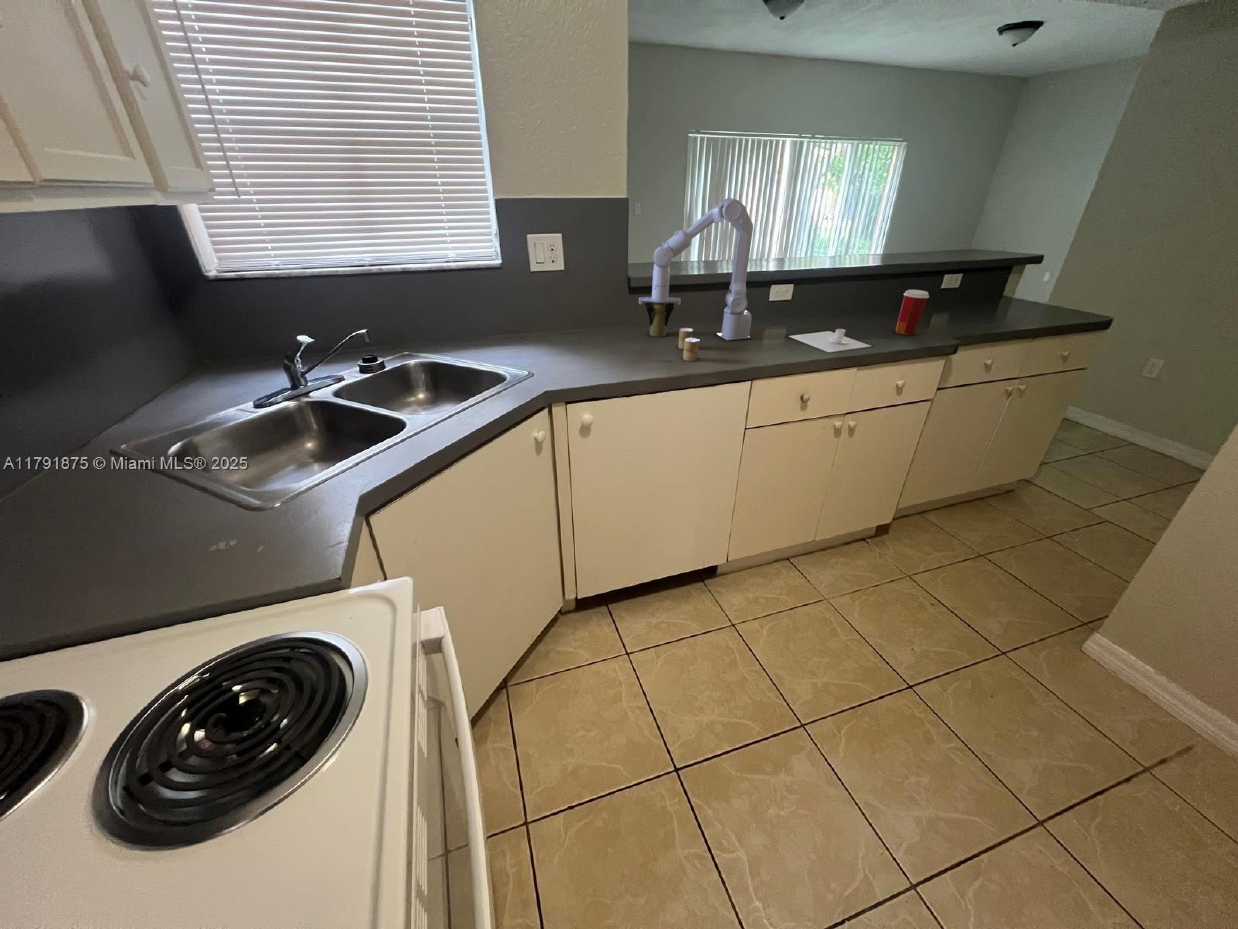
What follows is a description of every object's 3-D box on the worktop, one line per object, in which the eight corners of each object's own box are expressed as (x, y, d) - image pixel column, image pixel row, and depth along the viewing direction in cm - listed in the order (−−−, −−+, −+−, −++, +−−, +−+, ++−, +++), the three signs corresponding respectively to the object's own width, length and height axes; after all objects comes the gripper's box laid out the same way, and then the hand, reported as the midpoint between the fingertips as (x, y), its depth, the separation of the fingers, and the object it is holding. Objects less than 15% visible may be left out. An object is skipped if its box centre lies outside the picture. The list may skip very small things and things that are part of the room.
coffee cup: (917, 332, 185) (931, 291, 177) (915, 337, 179) (929, 294, 171) (893, 328, 189) (905, 288, 181) (890, 333, 183) (903, 291, 175)
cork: (666, 332, 178) (668, 301, 172) (665, 336, 172) (668, 305, 167) (649, 331, 178) (651, 300, 172) (648, 336, 173) (650, 304, 167)
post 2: (692, 356, 155) (694, 337, 152) (699, 360, 151) (701, 341, 148) (680, 357, 153) (682, 338, 150) (687, 361, 150) (688, 342, 147)
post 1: (687, 344, 165) (689, 327, 162) (693, 348, 161) (695, 330, 158) (675, 346, 163) (677, 328, 160) (681, 350, 160) (683, 331, 157)
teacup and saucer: (836, 346, 167) (839, 334, 165) (819, 339, 173) (822, 328, 171) (855, 343, 170) (858, 331, 168) (837, 337, 176) (840, 326, 174)
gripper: (680, 283, 170) (677, 322, 177) (639, 282, 170) (637, 321, 177) (682, 287, 164) (679, 327, 171) (640, 286, 164) (638, 326, 171)
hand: (658, 324), depth 173 cm, fingers closed on cork, 5 cm apart
